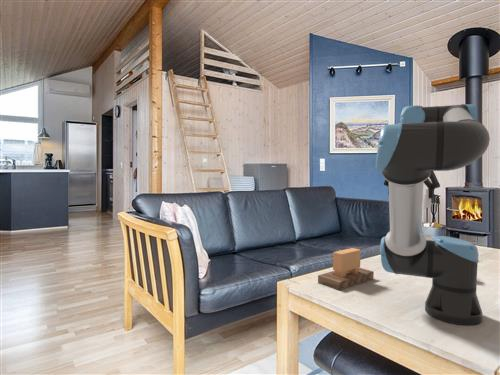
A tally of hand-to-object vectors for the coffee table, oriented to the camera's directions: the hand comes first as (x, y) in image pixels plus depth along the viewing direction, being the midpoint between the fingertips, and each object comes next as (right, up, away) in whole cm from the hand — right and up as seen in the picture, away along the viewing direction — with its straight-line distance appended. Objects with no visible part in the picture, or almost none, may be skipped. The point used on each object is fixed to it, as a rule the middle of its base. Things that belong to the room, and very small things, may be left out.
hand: (409, 205), depth 128 cm
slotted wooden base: (-22, -30, +8) cm, 38 cm away
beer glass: (+17, -30, +25) cm, 42 cm away
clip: (-22, -30, +7) cm, 38 cm away
